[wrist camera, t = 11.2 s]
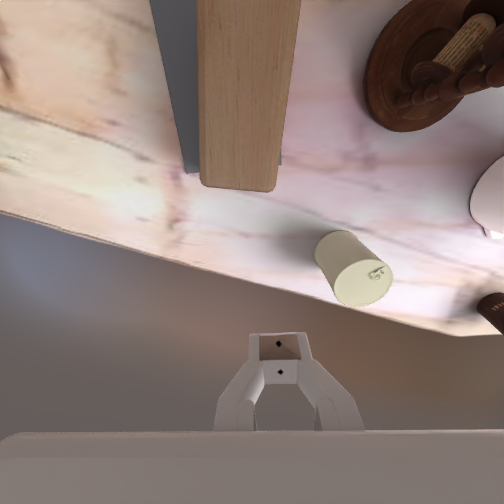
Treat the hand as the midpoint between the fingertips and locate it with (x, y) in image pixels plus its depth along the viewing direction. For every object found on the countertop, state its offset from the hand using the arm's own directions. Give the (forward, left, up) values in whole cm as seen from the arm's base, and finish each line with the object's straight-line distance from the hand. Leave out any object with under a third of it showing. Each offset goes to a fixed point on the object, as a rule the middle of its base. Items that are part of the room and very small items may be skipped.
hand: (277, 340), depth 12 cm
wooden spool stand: (-23, -16, -31) cm, 42 cm away
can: (-15, +12, -31) cm, 36 cm away
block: (+3, -4, -25) cm, 25 cm away
